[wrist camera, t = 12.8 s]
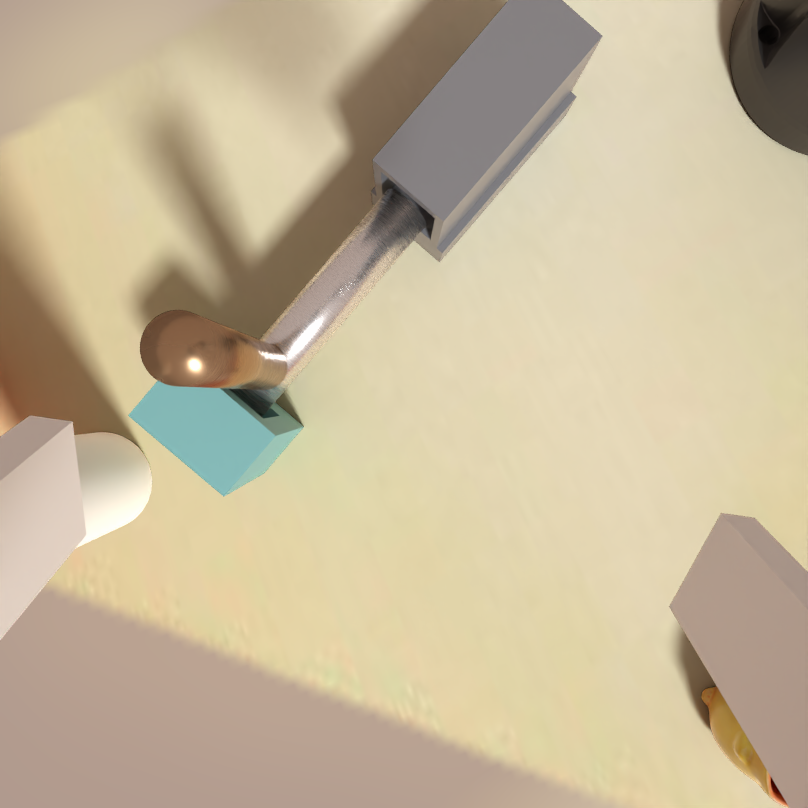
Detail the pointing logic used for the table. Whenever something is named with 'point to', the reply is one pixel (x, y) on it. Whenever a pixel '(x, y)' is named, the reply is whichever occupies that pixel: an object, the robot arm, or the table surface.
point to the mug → (737, 743)
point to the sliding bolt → (282, 317)
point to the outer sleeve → (486, 117)
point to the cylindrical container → (111, 481)
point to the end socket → (215, 432)
